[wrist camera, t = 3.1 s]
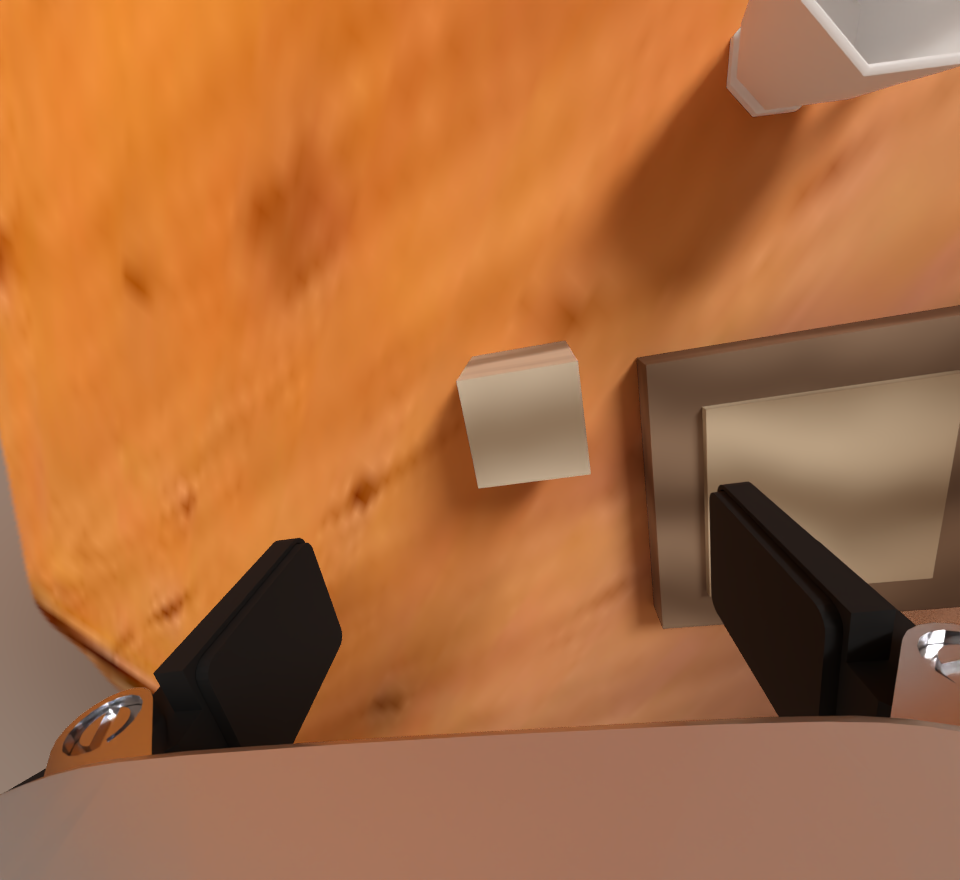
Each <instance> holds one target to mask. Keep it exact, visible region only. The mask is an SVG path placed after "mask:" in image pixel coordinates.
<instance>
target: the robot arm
mask: <svg viewBox="0 0 960 880" xmlns="http://www.w3.org/2000/svg"><path fill="white" fill-rule="evenodd" d="M709 512H710V559H711V596H712V601H713V605H714V608H715V610H716V612H717V614H718V615H719V617H720V619H721V621H722V622H723V624H724V626H725V627H726V629H727V631H728V632H729V634H730V636H731V637H732V639H733V641H734V642H735V644H736V646H737V647H738V649H739V651H740V652H741V654H742V656H743V657H744V659H745V661H746V662H747V664H748V666H749V667H750V669H751V671H752V672H753V674H754V676H755V677H756V679H757V681H758V682H759V684H760V686H761V687H762V689H763V691H764V692H765V694H766V696H767V698H768V699H769V701H770V703H771V704H772V706H773V708H774V709H775V711H776V713H777V714H778V716H779V717H755V718H737V719H716V720H689V721H671V722H652V723H633V724H614V725H596V726H577V727H558V728H539V729H522V730H505V731H488V732H471V733H454V734H437V735H421V736H405V737H388V738H372V739H356V740H341V741H326V742H311V743H296V744H293V743H294V741H295V738H296V736H297V734H298V732H299V730H300V728H301V726H302V724H303V722H304V720H305V718H306V716H307V714H308V712H309V710H310V707H311V705H312V703H313V701H314V699H315V697H316V695H317V693H318V691H319V689H320V687H321V685H322V683H323V681H324V678H325V676H326V674H327V672H328V670H329V668H330V666H331V664H332V662H333V660H334V658H335V656H336V654H337V652H338V649H339V647H340V645H341V641H342V631H341V627H340V624H339V621H338V619H337V616H336V613H335V610H334V607H333V605H332V602H331V599H330V596H329V593H328V590H327V588H326V585H325V582H324V579H323V576H322V573H321V571H320V568H319V565H318V562H317V559H316V557H315V554H314V551H313V548H312V546H311V545H310V544H309V543H305V541H304V540H303V539H301V538H295V539H287V540H279V541H276V542H274V543H273V544H272V545H271V546H270V547H269V549H268V550H267V551H266V552H265V553H264V554H263V555H262V556H261V557H260V558H259V559H258V560H257V562H256V563H255V564H254V565H253V566H252V567H251V568H250V569H249V570H248V571H247V572H246V574H245V575H244V576H243V577H242V578H241V579H240V580H239V581H238V582H237V583H236V584H235V585H234V587H233V588H232V589H231V590H230V591H229V592H228V593H227V594H226V595H225V596H224V597H223V598H222V600H221V601H220V602H219V603H218V604H217V605H216V606H215V607H214V608H213V609H212V610H211V611H210V613H209V614H208V615H207V616H206V617H205V618H204V619H203V620H202V621H201V622H200V623H199V624H198V626H197V627H196V628H195V629H194V630H193V631H192V632H191V633H190V634H189V635H188V636H187V637H186V639H185V640H184V641H183V642H182V643H181V644H180V645H179V646H178V647H177V648H176V649H175V650H174V652H173V653H172V654H171V655H170V656H169V657H168V658H167V659H166V660H165V661H164V662H163V663H162V665H161V666H160V667H159V668H158V669H157V670H156V671H155V672H154V673H153V674H154V675H155V677H156V679H157V681H158V683H159V685H160V687H159V689H158V690H157V691H156V692H155V693H154V694H152V692H151V691H150V690H148V689H146V688H132V689H128V690H124V691H121V692H119V693H117V694H114V695H112V696H110V697H108V698H106V699H104V700H103V701H101V702H99V703H97V704H96V705H94V706H92V707H91V708H90V709H89V710H87V711H86V712H84V713H83V714H81V715H80V716H79V717H78V718H77V719H75V720H74V721H73V722H72V723H71V724H70V725H69V726H68V727H67V728H66V729H65V730H64V731H63V732H62V734H61V735H60V736H59V737H58V739H57V740H56V741H55V744H54V746H53V748H52V750H51V752H50V756H49V759H48V763H47V767H46V769H44V770H42V771H41V772H39V773H37V774H36V775H34V776H32V777H30V778H29V779H27V780H25V781H24V782H22V783H20V784H18V785H17V786H15V787H13V788H12V789H10V790H8V791H6V792H4V793H2V794H0V880H960V625H958V624H952V623H935V622H933V623H927V624H920V625H917V626H916V625H915V624H914V623H912V622H911V621H910V620H909V619H908V618H907V617H906V616H904V615H903V614H902V613H901V612H900V611H899V610H897V609H896V608H895V607H894V606H893V605H892V604H891V603H889V602H888V601H887V600H886V599H885V598H884V597H883V596H881V595H880V594H879V593H878V592H877V591H876V590H874V589H873V588H872V587H871V586H870V585H869V584H868V583H866V582H865V581H864V580H863V579H862V578H861V577H860V576H858V575H857V574H856V573H855V572H854V571H853V570H851V569H850V568H849V567H848V566H847V565H846V564H845V563H843V562H842V561H841V560H840V559H839V558H838V557H837V556H835V555H834V554H833V553H832V552H831V551H830V550H828V549H827V548H826V547H825V546H824V545H823V544H822V543H820V542H819V541H818V540H816V539H815V538H814V537H813V536H811V535H810V534H809V533H808V532H807V531H806V530H805V529H803V528H802V527H801V526H800V525H799V524H798V523H797V522H795V521H794V520H793V519H792V518H791V517H790V516H789V515H787V514H786V513H785V512H784V511H783V510H782V509H781V508H779V507H778V506H777V505H776V504H775V503H774V502H773V501H771V500H770V499H769V498H768V497H767V496H766V495H765V494H763V493H762V492H761V491H760V490H759V489H758V488H756V487H755V486H754V485H753V484H752V483H750V482H749V481H748V482H739V483H731V484H723V485H719V487H718V489H717V492H712V493H711V494H710V497H709Z"/></svg>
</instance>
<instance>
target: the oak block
mask: <svg viewBox="0 0 960 880" xmlns="http://www.w3.org/2000/svg"><path fill="white" fill-rule="evenodd" d="M456 382H457V387H458V392H459V396H460V401H461V406H462V411H463V416H464V421H465V425H466V430H467V435H468V440H469V445H470V450H471V454H472V459H473V464H474V469H475V474H476V479H477V484H478V488H486V487H494V486H502V485H510V484H518V483H525V482H533V481H541V480H549V479H557V478H565V477H573V476H580V475H588V474H591V472H590V463H589V454H588V445H587V437H586V428H585V419H584V410H583V402H582V393H581V384H580V375H579V367H578V361H577V359H576V357H575V356H574V354H573V352H572V351H571V349H570V347H569V346H568V344H567V342H566V341H560V342H554V343H548V344H543V345H537V346H531V347H525V348H520V349H514V350H508V351H502V352H496V353H491V354H485V355H479V356H473V357H472V358H471V359H470V361H469V362H468V364H467V365H466V367H465V369H464V370H463V372H462V373H461V375H460V376H459V378H458V379H457V381H456Z"/></svg>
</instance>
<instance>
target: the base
mask: <svg viewBox="0 0 960 880" xmlns="http://www.w3.org/2000/svg"><path fill="white" fill-rule="evenodd" d="M637 371H638V385H639V400H640V414H641V428H642V442H643V457H644V471H645V485H646V499H647V514H648V528H649V542H650V556H651V571H652V585H653V599H654V607H655V610H656V612H657V615H658V617H659V620H660V623H661V625H662V628H663V629H667V628H681V627H694V626H708V625H721V624H723V622H722V621H721V619H720V617H719V615H718V614H717V612H716V610H715V608H714V605H713V601H712V596H711V559H710V512H709V497H710V494H711V493H712V492H717V489H718V487H719V485H723V484H731V483H739V482H748V481H749V482H750V483H752V484H753V485H754V486H755V487H756V488H758V489H759V490H760V491H761V492H762V493H763V494H765V495H766V496H767V497H768V498H769V499H770V500H771V501H773V502H774V503H775V504H776V505H777V506H778V507H779V508H781V509H782V510H783V511H784V512H785V513H786V514H787V515H789V516H790V517H791V518H792V519H793V520H794V521H795V522H797V523H798V524H799V525H800V526H801V527H802V528H803V529H805V530H806V531H807V532H808V533H809V534H810V535H811V536H813V537H814V538H815V539H816V540H818V541H819V542H820V543H822V544H823V545H824V546H825V547H826V548H827V549H828V550H830V551H831V552H832V553H833V554H834V555H835V556H837V557H838V558H839V559H840V560H841V561H842V562H843V563H845V564H846V565H847V566H848V567H849V568H850V569H851V570H853V571H854V572H855V573H856V574H857V575H858V576H860V577H861V578H862V579H863V580H864V581H865V582H866V583H868V584H869V585H870V586H871V587H872V588H873V589H874V590H876V591H877V592H878V593H879V594H880V595H881V596H883V597H884V598H885V599H886V600H887V601H888V602H889V603H891V604H892V605H893V606H894V607H895V608H896V609H897V610H899V611H912V610H926V609H940V608H953V607H960V305H958V306H952V307H946V308H940V309H934V310H928V311H922V312H915V313H909V314H903V315H897V316H891V317H885V318H878V319H872V320H866V321H860V322H854V323H848V324H842V325H835V326H829V327H823V328H817V329H811V330H805V331H799V332H792V333H786V334H780V335H774V336H768V337H762V338H755V339H749V340H743V341H737V342H731V343H725V344H719V345H712V346H706V347H700V348H694V349H688V350H682V351H676V352H669V353H663V354H657V355H651V356H645V357H639V358H637Z"/></svg>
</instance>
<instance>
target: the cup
mask: <svg viewBox="0 0 960 880" xmlns="http://www.w3.org/2000/svg"><path fill="white" fill-rule="evenodd" d="M959 66H960V0H749V2H748V5H747V8H746V11H745V14H744V17H743V20H742V22H741V27H740V28H739V29H738V31H737V32H736V33H735V34H734V35H733V37H732V38H731V39H730V51H729V63H728V75H727V87H726V88H727V89H728V90H729V91H730V92H731V93H732V95H733V96H734V97H735V98H736V99H737V100H738V101H739V102H740V103H741V105H742V106H743V107H744V108H745V109H746V110H747V111H748V112H749V113H750V115H751V116H752V117H756V116H764V115H772V114H780V113H788V112H795V111H797V110H798V109H800V108H801V106H802V105H809V104H817V103H824V102H832V101H839V100H846V99H851V98H855V97H858V96H861V95H864V94H868V93H871V92H874V91H877V90H880V89H884V88H887V87H890V86H893V85H896V84H900V83H903V82H907V81H910V80H914V79H918V78H921V77H925V76H928V75H932V74H936V73H939V72H942V71H945V70H949V69H952V68H955V67H959Z"/></svg>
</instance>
